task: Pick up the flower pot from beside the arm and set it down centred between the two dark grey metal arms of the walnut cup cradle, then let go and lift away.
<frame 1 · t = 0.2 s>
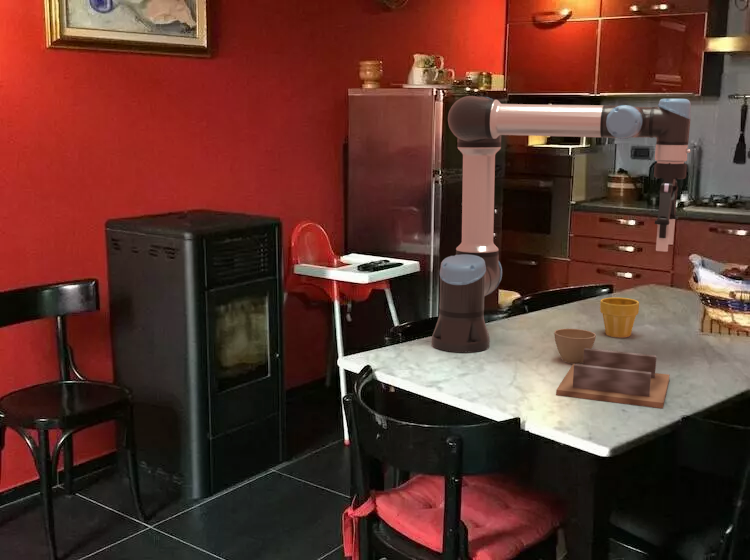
hand: (664, 247, 215), 27 cm above the table, tool pointing down, fingers open, 13 cm apart
plant pot: (617, 335, 239), on the table
cup cradle: (614, 387, 192), on the table
flower pot: (573, 361, 213), on the table
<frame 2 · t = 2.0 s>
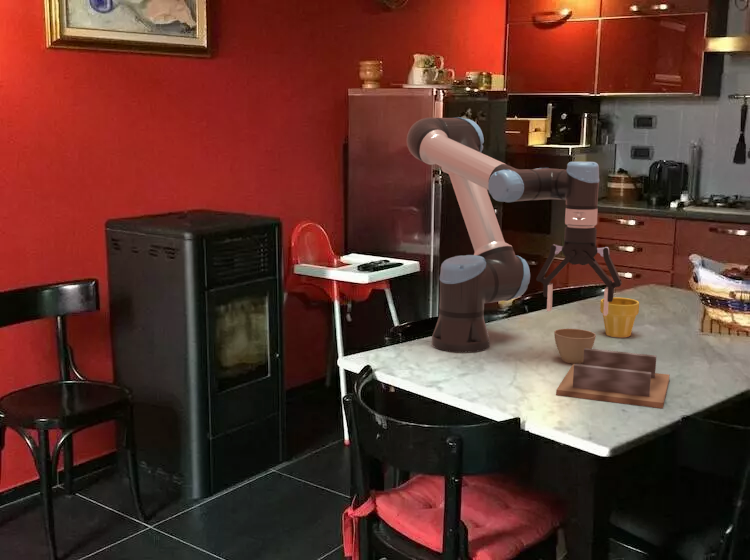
hand: (577, 312, 210), 12 cm above the table, tool pointing down, fingers open, 13 cm apart
nothing on the table moved.
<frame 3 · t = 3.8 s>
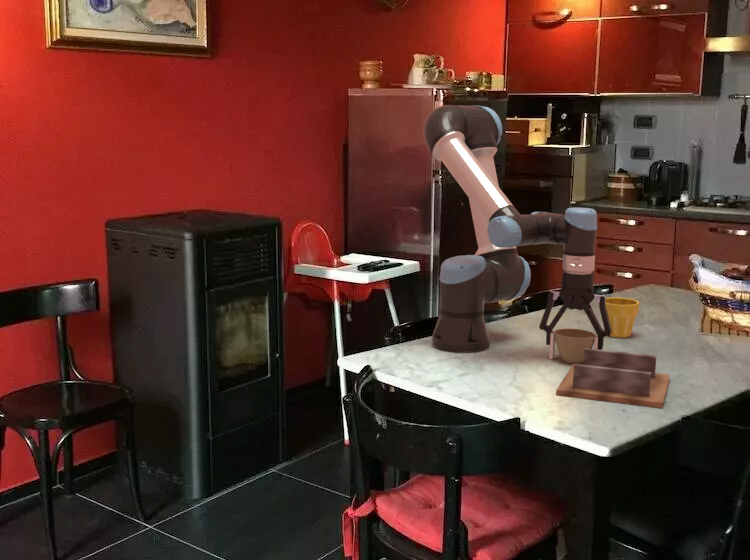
hand: (573, 360, 212), 0 cm above the table, tool pointing down, fingers closed on flower pot, 10 cm apart
flower pot: (573, 361, 213), on the table, touching gripper
everything else where it was.
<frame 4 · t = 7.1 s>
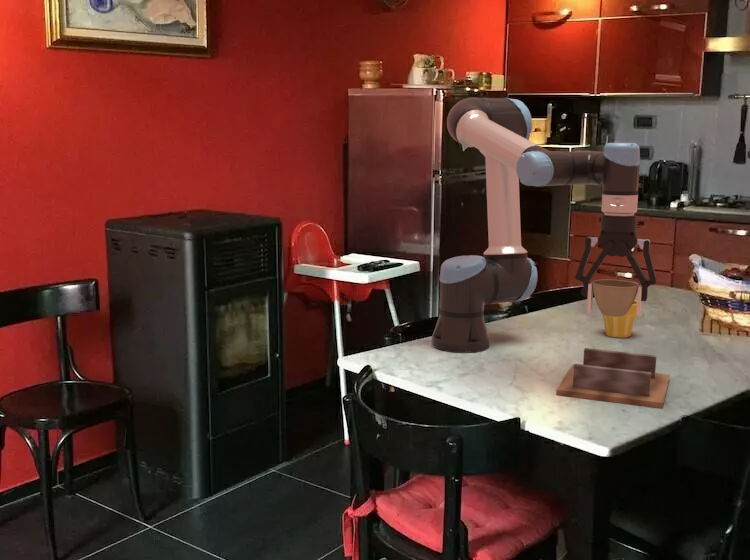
hand: (613, 313, 191), 16 cm above the table, tool pointing down, fingers closed on flower pot, 10 cm apart
flower pot: (613, 315, 192), point 16 cm above the table, touching gripper
everything else where it was.
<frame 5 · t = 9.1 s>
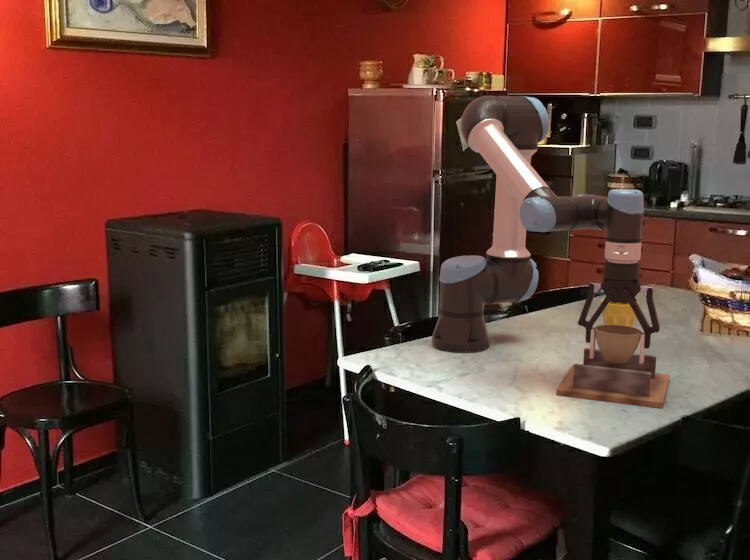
hand: (616, 359, 190), 6 cm above the table, tool pointing down, fingers closed on flower pot, 10 cm apart
flower pot: (616, 361, 191), point 6 cm above the table, touching gripper
everything else where it was.
when the fingers open (3 cm above the table, at t = 10.7 s): flower pot drops 2 cm, resting on cup cradle.
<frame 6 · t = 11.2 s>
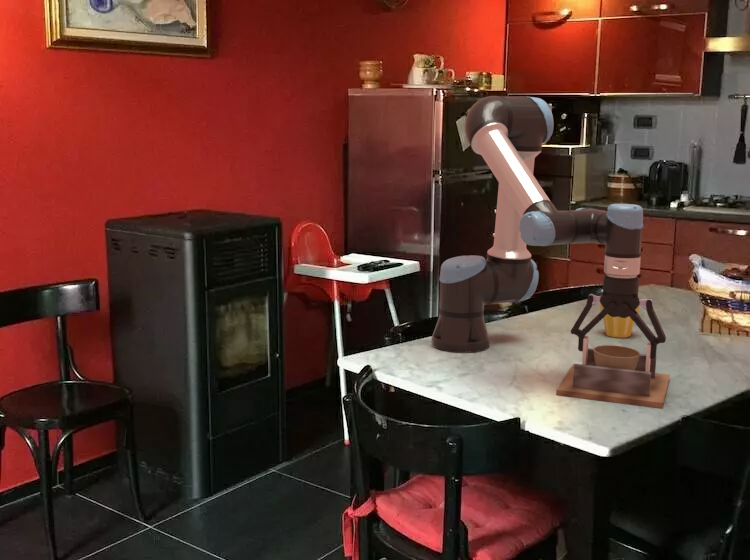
hand: (615, 369, 191), 4 cm above the table, tool pointing down, fingers open, 13 cm apart
flower pot: (614, 382, 192), point 1 cm above the table, touching cup cradle
everything else where it was.
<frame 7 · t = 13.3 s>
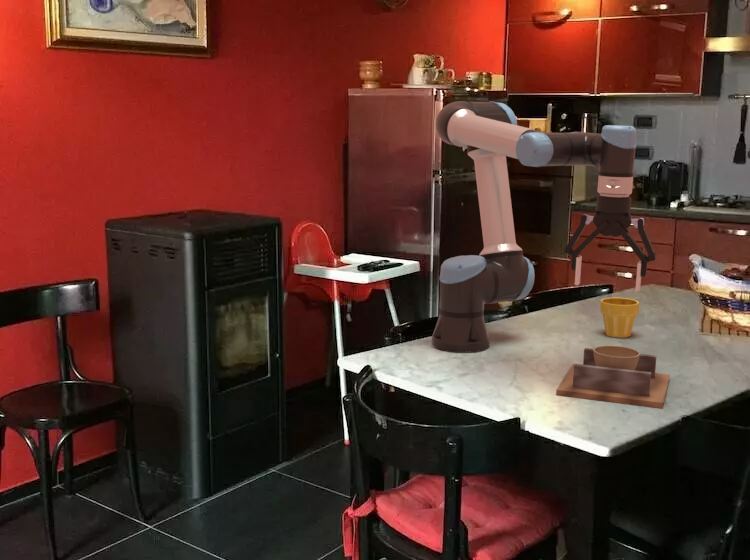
hand: (607, 287, 197), 21 cm above the table, tool pointing down, fingers open, 13 cm apart
nothing on the table moved.
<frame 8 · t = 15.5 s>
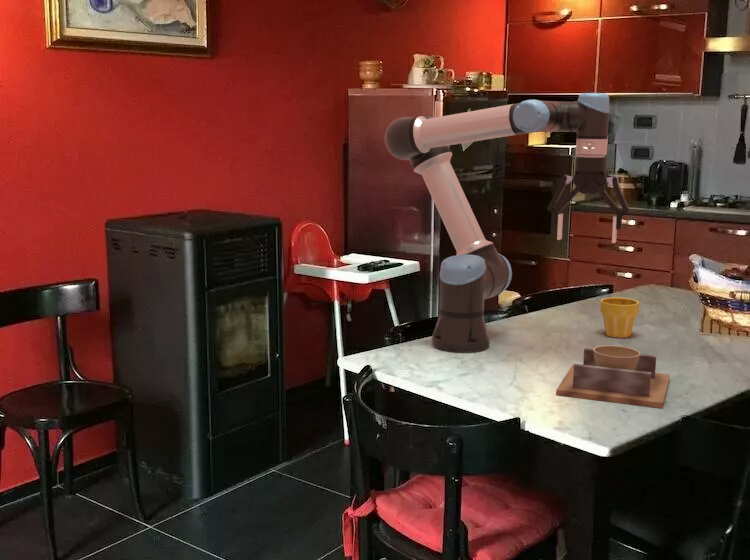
hand: (586, 240, 217), 29 cm above the table, tool pointing down, fingers open, 13 cm apart
nothing on the table moved.
at the end: flower pot inside the target area on the cup cradle (0.1 cm from its centre), point 1.0 cm above the cup cradle's base; flower pot tilted 0°; the gripper is holding nothing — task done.
